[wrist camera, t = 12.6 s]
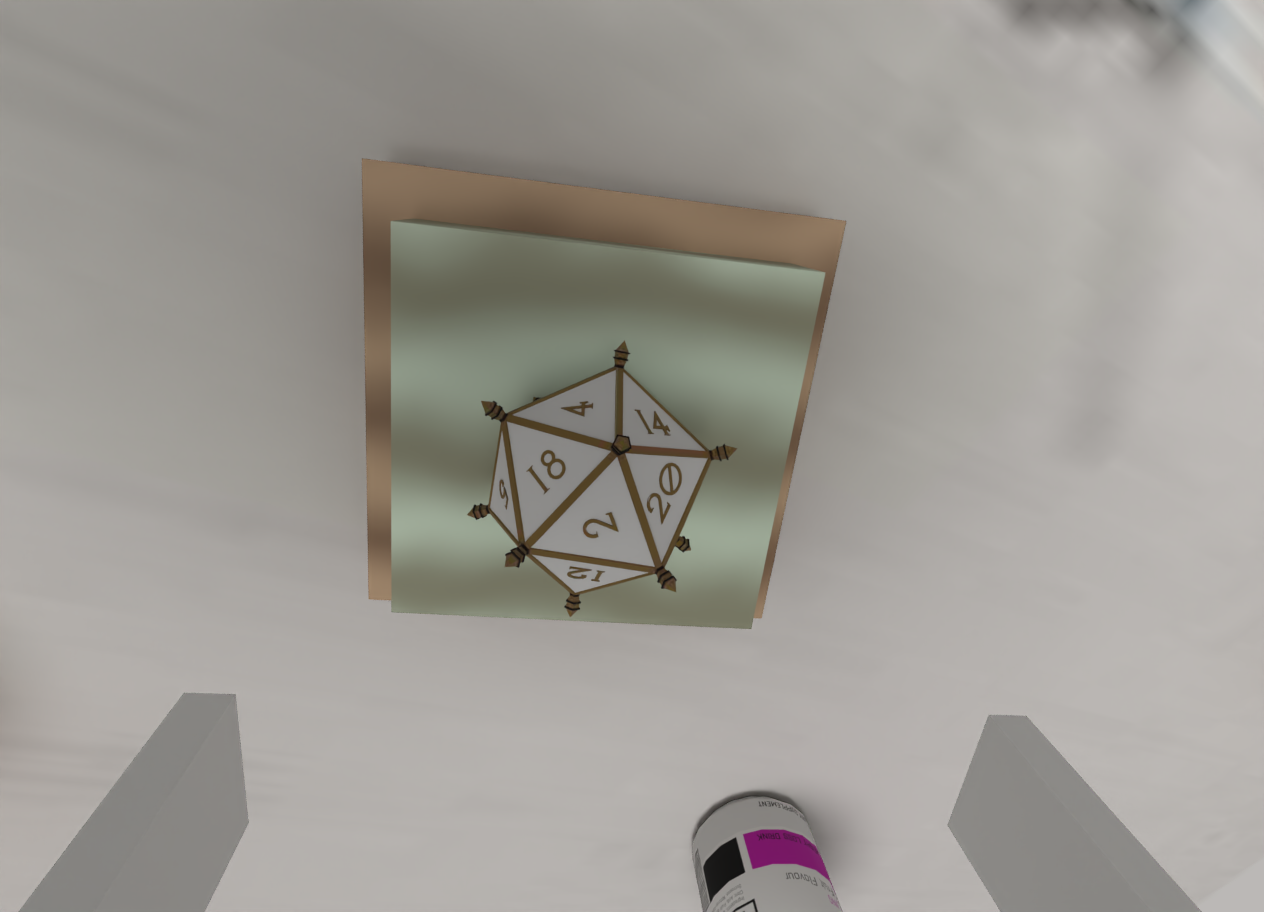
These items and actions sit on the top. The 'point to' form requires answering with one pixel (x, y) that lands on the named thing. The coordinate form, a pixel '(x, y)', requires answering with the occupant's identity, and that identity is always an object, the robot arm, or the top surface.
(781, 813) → the supplement can
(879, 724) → the top surface
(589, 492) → the game die
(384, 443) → the tower base
